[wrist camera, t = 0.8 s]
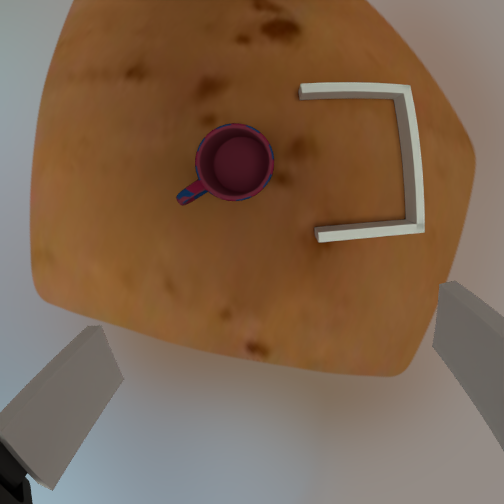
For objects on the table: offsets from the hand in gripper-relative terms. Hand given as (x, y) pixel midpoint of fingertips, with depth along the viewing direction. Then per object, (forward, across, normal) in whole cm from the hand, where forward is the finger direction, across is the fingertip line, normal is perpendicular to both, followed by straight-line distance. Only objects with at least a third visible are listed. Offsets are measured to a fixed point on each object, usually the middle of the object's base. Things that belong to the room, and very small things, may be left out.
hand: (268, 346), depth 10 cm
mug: (+23, -4, +7) cm, 24 cm away
